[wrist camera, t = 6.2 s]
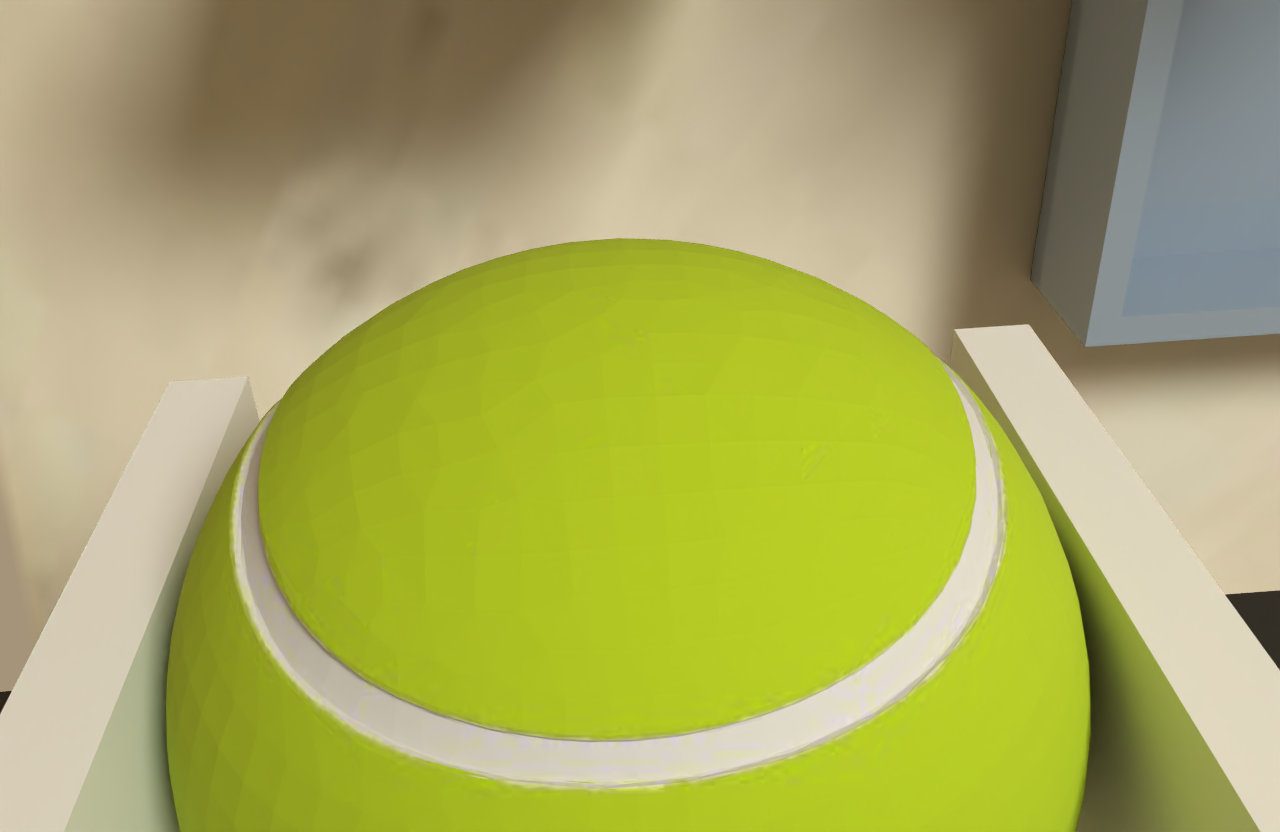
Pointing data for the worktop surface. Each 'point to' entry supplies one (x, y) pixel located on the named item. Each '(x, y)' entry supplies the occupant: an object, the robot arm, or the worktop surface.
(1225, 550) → the worktop surface
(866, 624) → the tennis ball
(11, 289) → the worktop surface
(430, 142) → the worktop surface
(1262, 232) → the dish
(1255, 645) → the robot arm
